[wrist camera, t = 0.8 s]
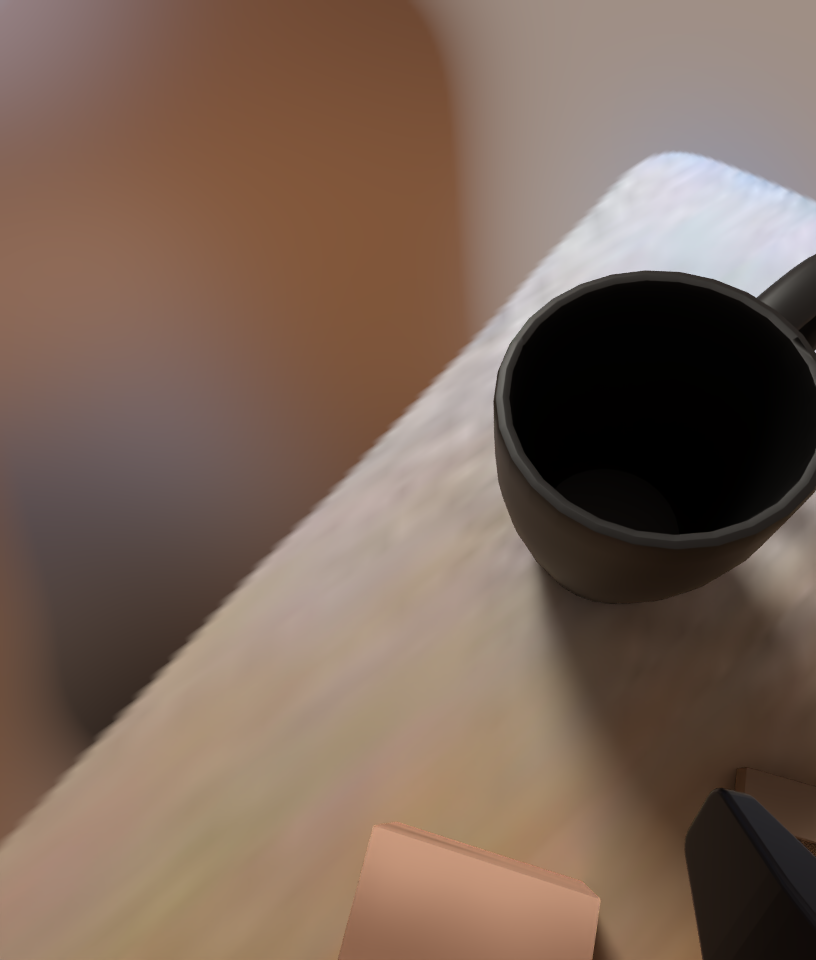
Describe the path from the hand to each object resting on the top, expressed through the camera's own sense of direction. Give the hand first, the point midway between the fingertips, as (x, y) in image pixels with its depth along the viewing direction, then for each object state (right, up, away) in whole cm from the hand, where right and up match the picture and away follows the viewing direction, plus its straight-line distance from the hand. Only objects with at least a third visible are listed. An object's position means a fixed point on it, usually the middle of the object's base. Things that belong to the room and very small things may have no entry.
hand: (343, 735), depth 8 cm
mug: (+10, +2, +18) cm, 20 cm away
